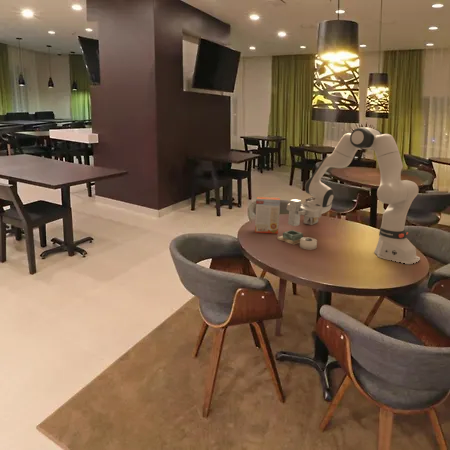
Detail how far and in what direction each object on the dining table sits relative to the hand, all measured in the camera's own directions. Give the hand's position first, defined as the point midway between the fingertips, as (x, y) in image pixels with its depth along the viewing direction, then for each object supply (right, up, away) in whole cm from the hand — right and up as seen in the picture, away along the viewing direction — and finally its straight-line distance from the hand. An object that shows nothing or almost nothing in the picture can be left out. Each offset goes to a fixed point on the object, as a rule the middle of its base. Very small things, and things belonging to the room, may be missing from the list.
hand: (293, 211), depth 236 cm
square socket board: (0, -16, +5) cm, 17 cm away
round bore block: (+7, -19, -5) cm, 21 cm away
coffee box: (+18, -6, +41) cm, 45 cm away
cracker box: (-14, -12, +18) cm, 25 cm away
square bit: (0, -7, +3) cm, 8 cm away
